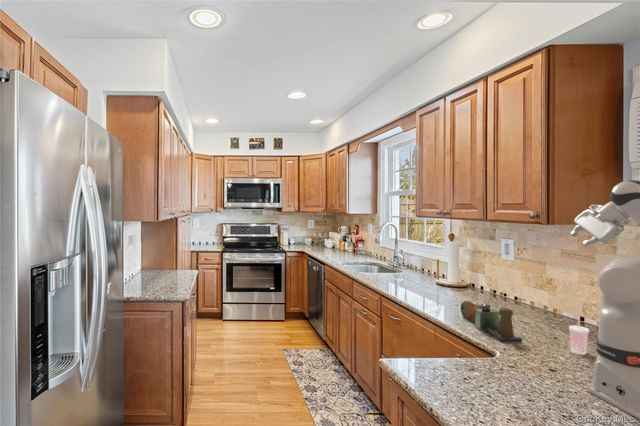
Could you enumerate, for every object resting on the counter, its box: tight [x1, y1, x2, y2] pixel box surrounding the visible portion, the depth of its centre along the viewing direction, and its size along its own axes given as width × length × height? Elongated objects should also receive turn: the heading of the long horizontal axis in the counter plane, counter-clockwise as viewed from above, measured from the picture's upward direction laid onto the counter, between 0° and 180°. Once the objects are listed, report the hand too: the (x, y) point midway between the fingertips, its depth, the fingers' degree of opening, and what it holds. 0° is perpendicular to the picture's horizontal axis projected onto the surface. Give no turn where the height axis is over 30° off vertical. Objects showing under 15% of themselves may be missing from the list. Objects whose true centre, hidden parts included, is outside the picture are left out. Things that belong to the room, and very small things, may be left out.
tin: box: [460, 300, 481, 323], centre depth 165 cm, size 15×3×8 cm, turn 14°
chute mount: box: [474, 303, 523, 343], centre depth 148 cm, size 18×10×10 cm, turn 1°
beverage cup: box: [568, 314, 590, 356], centre depth 130 cm, size 6×6×14 cm
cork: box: [498, 307, 515, 337], centre depth 145 cm, size 6×6×11 cm
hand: (577, 239), depth 141 cm, fingers open, 8 cm apart
